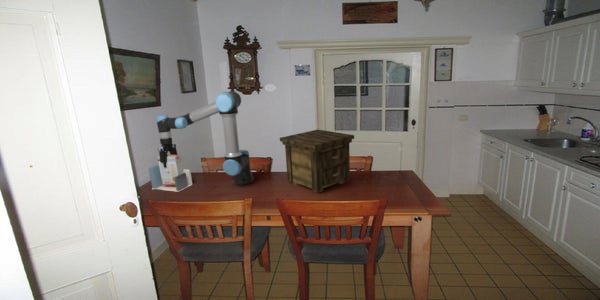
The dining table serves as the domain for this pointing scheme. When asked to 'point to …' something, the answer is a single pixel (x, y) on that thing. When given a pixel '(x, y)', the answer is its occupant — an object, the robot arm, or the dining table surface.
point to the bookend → (181, 181)
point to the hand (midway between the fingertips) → (171, 169)
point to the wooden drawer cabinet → (317, 158)
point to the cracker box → (170, 169)
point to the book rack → (157, 180)
